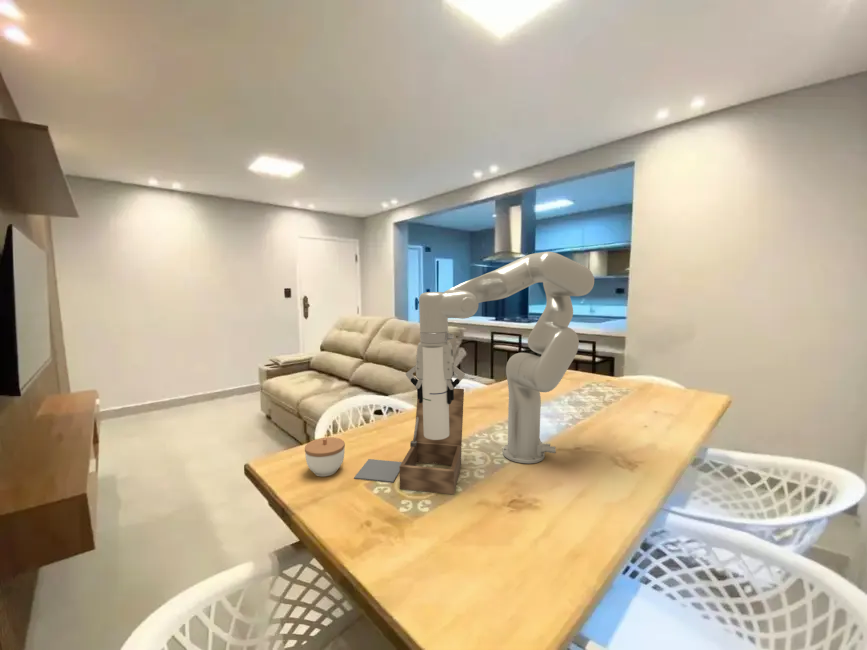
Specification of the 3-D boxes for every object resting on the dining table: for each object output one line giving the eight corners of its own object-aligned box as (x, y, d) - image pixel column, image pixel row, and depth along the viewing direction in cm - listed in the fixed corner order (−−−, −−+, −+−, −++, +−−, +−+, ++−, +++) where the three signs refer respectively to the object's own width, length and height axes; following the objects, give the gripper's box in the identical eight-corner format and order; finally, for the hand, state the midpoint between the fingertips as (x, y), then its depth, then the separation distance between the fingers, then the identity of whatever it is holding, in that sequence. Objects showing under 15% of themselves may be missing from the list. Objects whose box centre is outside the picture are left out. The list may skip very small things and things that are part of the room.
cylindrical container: (447, 440, 99) (445, 347, 96) (421, 439, 100) (418, 347, 97) (451, 430, 106) (449, 343, 103) (426, 428, 107) (424, 343, 104)
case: (463, 455, 114) (464, 388, 112) (453, 494, 93) (454, 412, 91) (418, 451, 117) (417, 385, 115) (398, 488, 95) (397, 408, 93)
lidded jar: (304, 466, 107) (303, 435, 106) (341, 459, 112) (341, 429, 111) (307, 484, 98) (306, 450, 97) (348, 476, 102) (347, 443, 101)
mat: (404, 463, 109) (404, 462, 109) (393, 482, 98) (393, 481, 98) (368, 460, 111) (368, 459, 111) (354, 478, 100) (354, 477, 100)
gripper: (467, 336, 102) (468, 399, 104) (406, 336, 105) (408, 396, 107) (464, 340, 95) (465, 407, 97) (399, 340, 98) (401, 405, 100)
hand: (435, 401), depth 102 cm, fingers closed on cylindrical container, 7 cm apart
